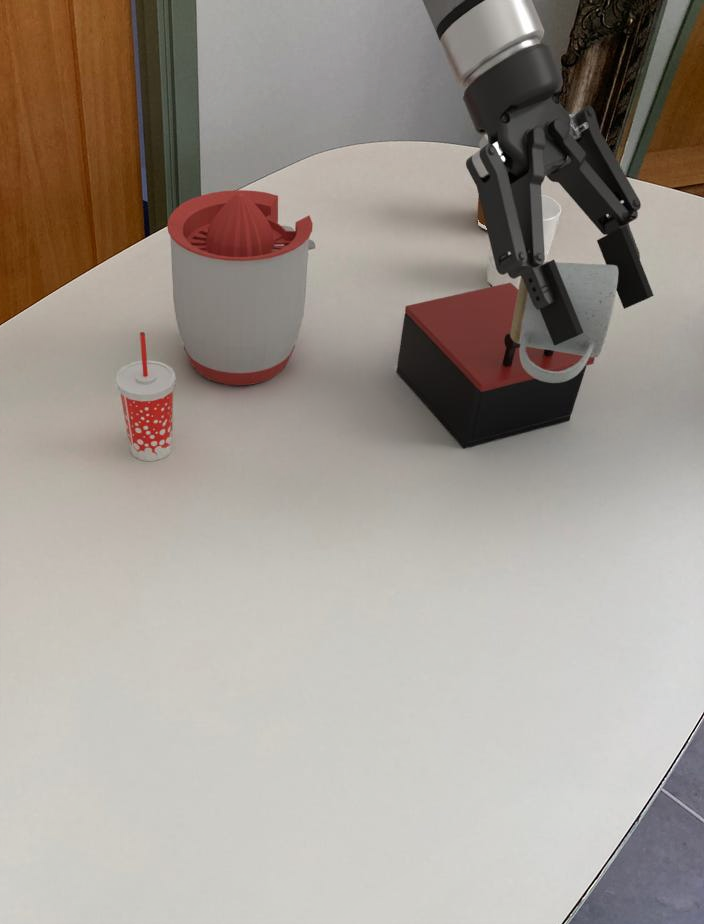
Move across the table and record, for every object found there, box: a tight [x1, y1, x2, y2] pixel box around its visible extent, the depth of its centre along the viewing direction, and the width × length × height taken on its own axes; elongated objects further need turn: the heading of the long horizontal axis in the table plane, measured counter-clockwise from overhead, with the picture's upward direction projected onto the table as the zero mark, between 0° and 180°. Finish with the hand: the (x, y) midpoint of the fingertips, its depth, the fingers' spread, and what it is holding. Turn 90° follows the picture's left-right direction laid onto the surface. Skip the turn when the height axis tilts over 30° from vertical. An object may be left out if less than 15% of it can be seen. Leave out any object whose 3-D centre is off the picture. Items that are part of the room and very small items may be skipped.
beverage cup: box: [115, 331, 176, 462], centre depth 102 cm, size 6×6×14 cm
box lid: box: [404, 283, 596, 392], centre depth 106 cm, size 16×14×4 cm
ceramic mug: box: [510, 261, 618, 383], centre depth 87 cm, size 11×8×8 cm
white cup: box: [486, 193, 562, 289], centre depth 127 cm, size 8×8×10 cm
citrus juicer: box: [166, 189, 316, 387], centre depth 112 cm, size 16×17×20 cm
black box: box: [395, 312, 587, 449], centre depth 111 cm, size 16×14×8 cm
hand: (604, 320), depth 86 cm, fingers closed on ceramic mug, 9 cm apart
